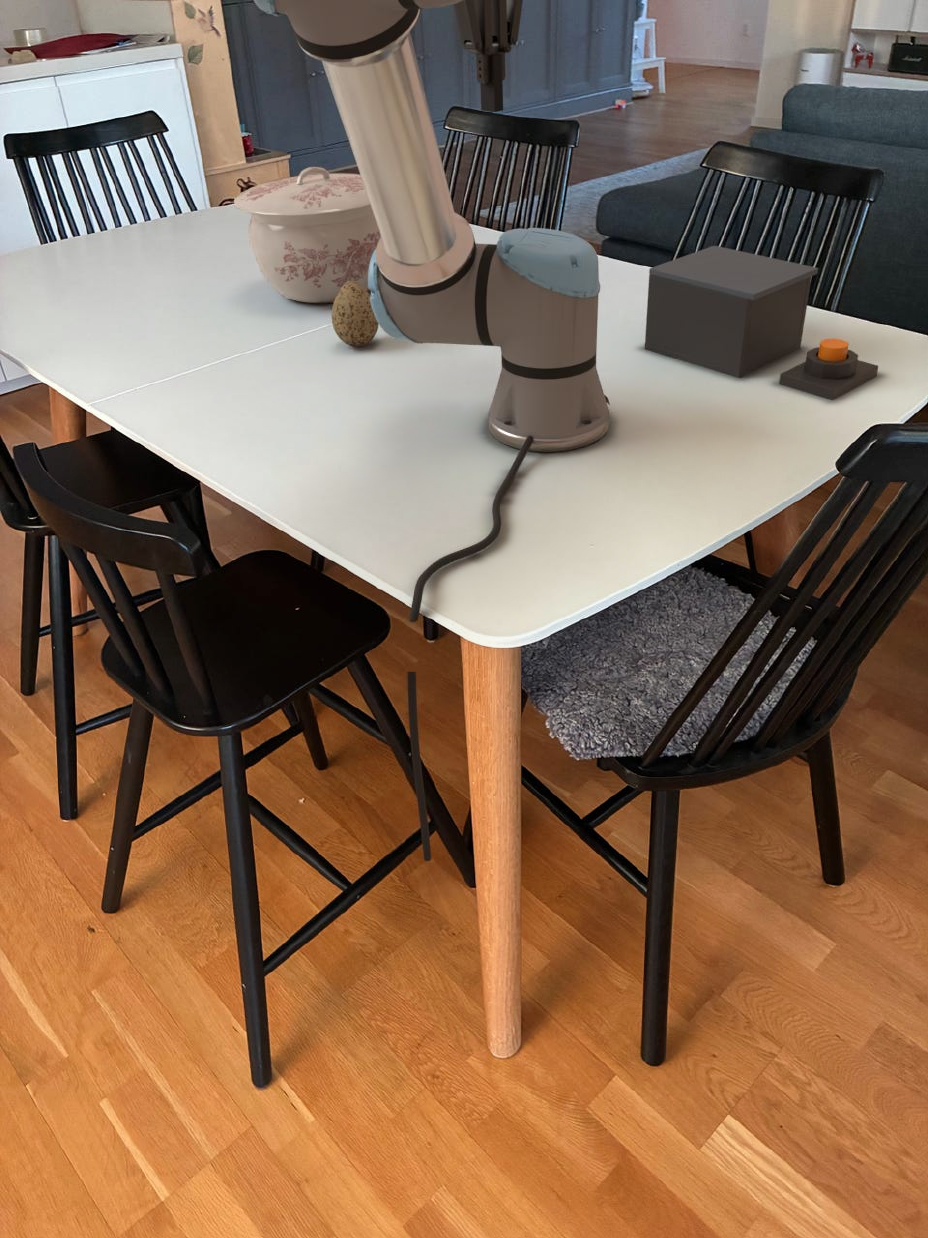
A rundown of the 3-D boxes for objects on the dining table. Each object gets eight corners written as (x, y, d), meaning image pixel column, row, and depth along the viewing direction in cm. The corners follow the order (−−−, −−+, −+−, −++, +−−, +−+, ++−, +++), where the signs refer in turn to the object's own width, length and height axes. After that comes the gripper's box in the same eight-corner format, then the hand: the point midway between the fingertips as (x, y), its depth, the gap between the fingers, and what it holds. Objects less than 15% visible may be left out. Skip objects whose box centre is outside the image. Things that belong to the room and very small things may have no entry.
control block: (876, 376, 132) (881, 351, 130) (831, 400, 127) (836, 374, 125) (824, 361, 137) (828, 337, 135) (778, 384, 132) (782, 359, 130)
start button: (851, 357, 130) (854, 342, 129) (836, 365, 128) (839, 350, 127) (827, 351, 132) (829, 336, 131) (812, 358, 130) (814, 343, 129)
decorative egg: (390, 341, 152) (384, 277, 146) (361, 356, 148) (354, 290, 142) (355, 334, 156) (347, 271, 150) (326, 349, 151) (317, 284, 145)
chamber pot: (225, 314, 167) (200, 185, 154) (285, 267, 188) (267, 150, 176) (380, 320, 160) (366, 185, 148) (425, 270, 182) (416, 149, 170)
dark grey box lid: (817, 273, 135) (818, 267, 134) (753, 300, 127) (754, 294, 127) (713, 250, 146) (714, 245, 145) (649, 273, 138) (649, 268, 138)
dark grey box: (800, 348, 141) (812, 272, 135) (738, 378, 134) (748, 299, 128) (706, 322, 152) (713, 251, 146) (644, 348, 144) (649, 274, 138)
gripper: (504, -113, 121) (508, 100, 134) (423, -109, 114) (436, 115, 128) (547, -117, 116) (547, 105, 130) (465, -113, 109) (474, 120, 123)
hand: (492, 109), depth 129 cm, fingers closed
